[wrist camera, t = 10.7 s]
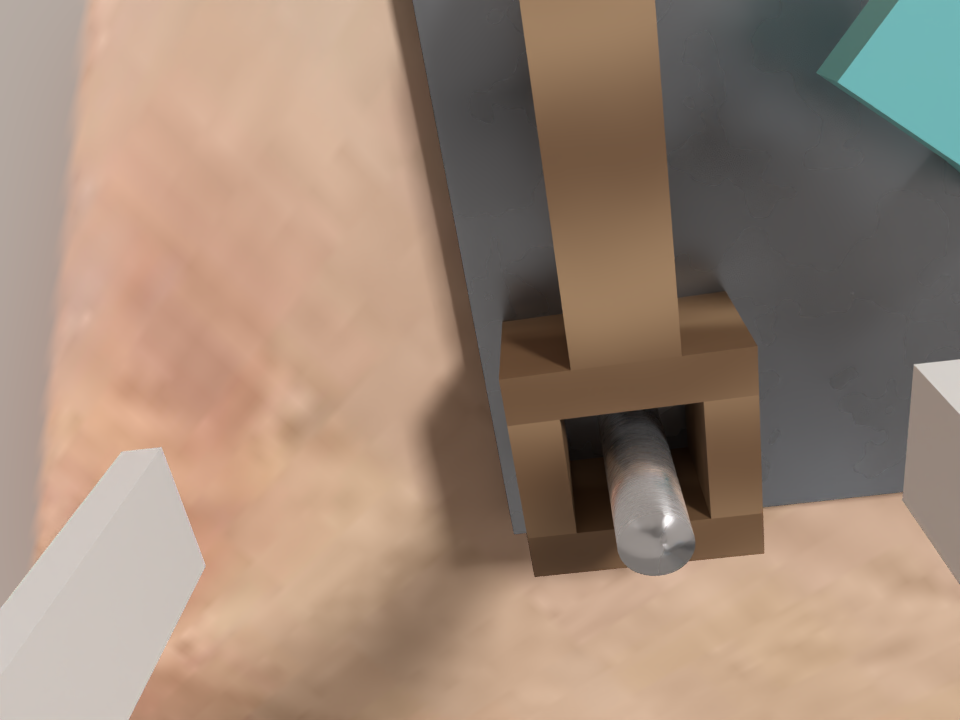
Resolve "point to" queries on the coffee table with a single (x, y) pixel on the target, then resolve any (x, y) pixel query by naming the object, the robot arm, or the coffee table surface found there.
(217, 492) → the coffee table surface
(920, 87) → the keeper
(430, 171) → the coffee table surface
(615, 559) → the link
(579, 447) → the base
